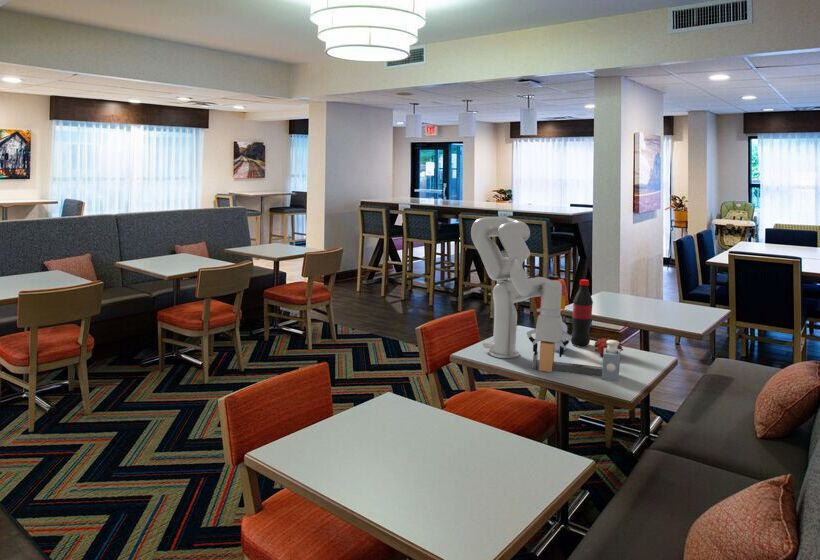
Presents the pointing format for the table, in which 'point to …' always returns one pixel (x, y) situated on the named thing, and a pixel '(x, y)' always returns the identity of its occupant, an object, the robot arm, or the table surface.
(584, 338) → the cola bottle
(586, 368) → the rail
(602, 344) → the dragon fruit
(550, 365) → the wooden block
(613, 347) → the plunger
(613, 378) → the grey boxy piece
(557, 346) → the soap bottle
